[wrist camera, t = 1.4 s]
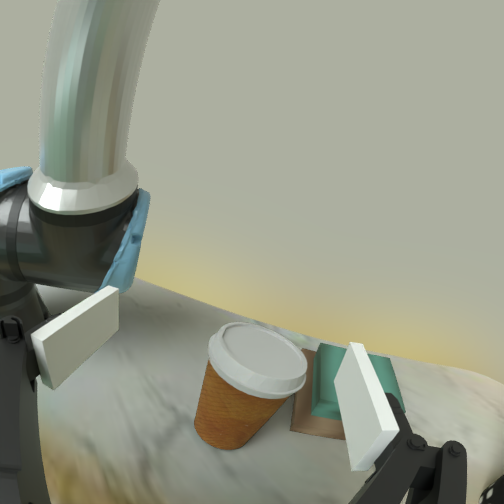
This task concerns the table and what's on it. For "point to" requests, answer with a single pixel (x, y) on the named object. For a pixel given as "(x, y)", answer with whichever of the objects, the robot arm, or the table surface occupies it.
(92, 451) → the table surface
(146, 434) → the table surface
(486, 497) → the white-spotted black cylinder
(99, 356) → the table surface
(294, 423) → the display stand
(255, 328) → the disposable coffee cup
